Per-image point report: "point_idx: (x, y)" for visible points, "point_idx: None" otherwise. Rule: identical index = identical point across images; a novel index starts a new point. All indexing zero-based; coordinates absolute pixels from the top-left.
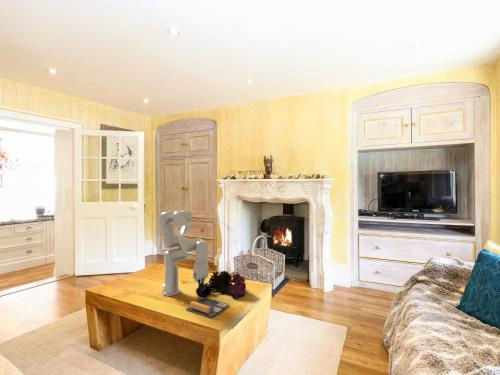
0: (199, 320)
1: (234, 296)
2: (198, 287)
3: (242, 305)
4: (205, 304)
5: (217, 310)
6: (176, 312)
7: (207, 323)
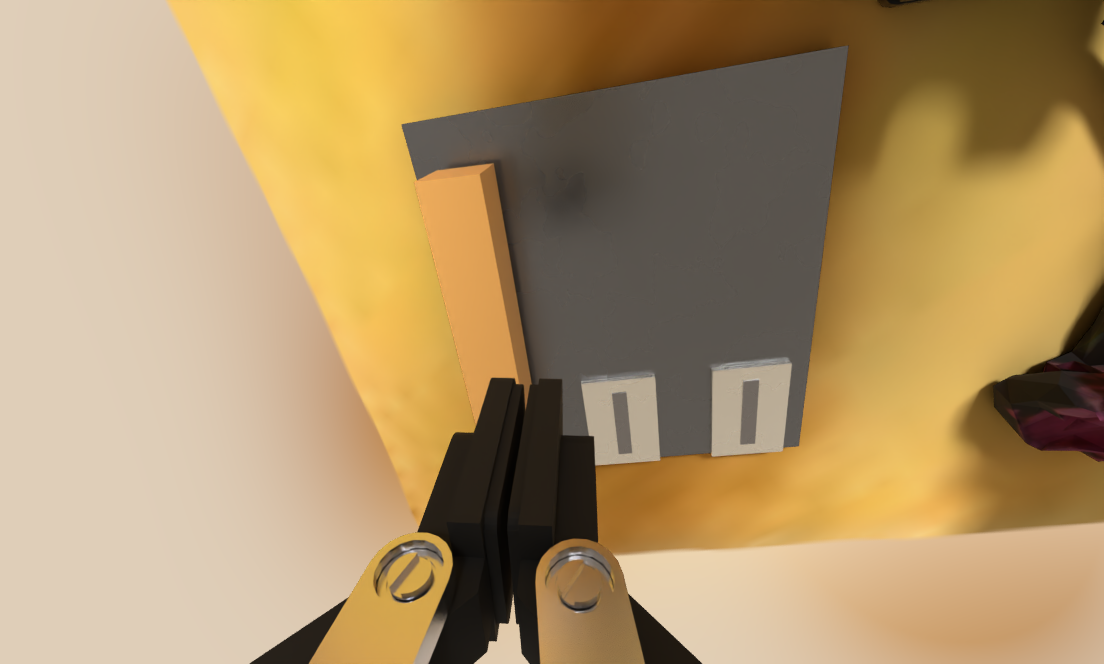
0: (401, 398)
1: (1019, 416)
2: (489, 388)
3: (867, 512)
4: (655, 248)
5: (612, 449)
6: (276, 46)
7: (425, 471)
